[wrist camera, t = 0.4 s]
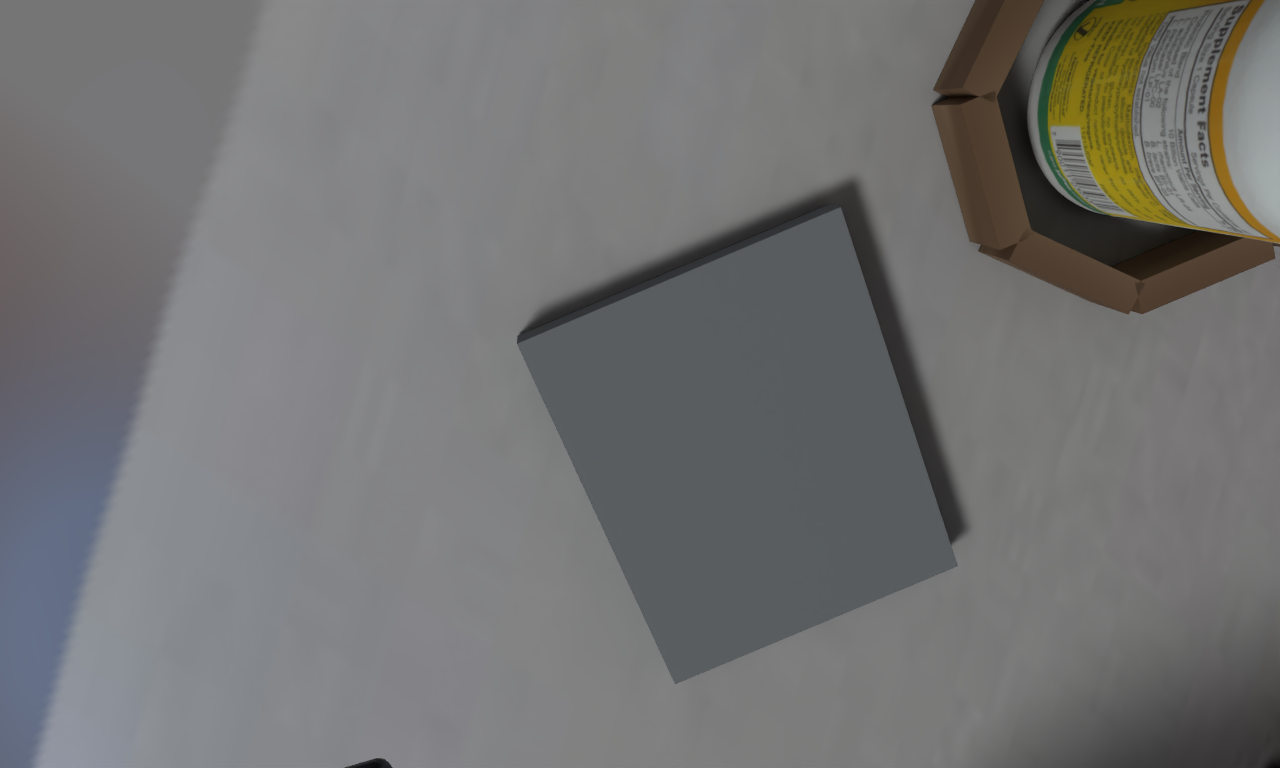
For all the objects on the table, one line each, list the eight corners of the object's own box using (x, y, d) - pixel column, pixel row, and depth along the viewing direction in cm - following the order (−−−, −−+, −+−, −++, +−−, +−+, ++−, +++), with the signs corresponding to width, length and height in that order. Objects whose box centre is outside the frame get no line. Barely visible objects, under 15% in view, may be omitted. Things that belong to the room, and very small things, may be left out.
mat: (944, 552, 24) (957, 565, 24) (670, 666, 24) (675, 683, 24) (829, 203, 21) (840, 206, 21) (517, 335, 21) (517, 344, 21)
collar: (1333, 205, 23) (1387, 211, 21) (999, 345, 23) (1030, 360, 21) (1276, -181, 20) (1334, -204, 19) (896, -20, 20) (923, -30, 19)
